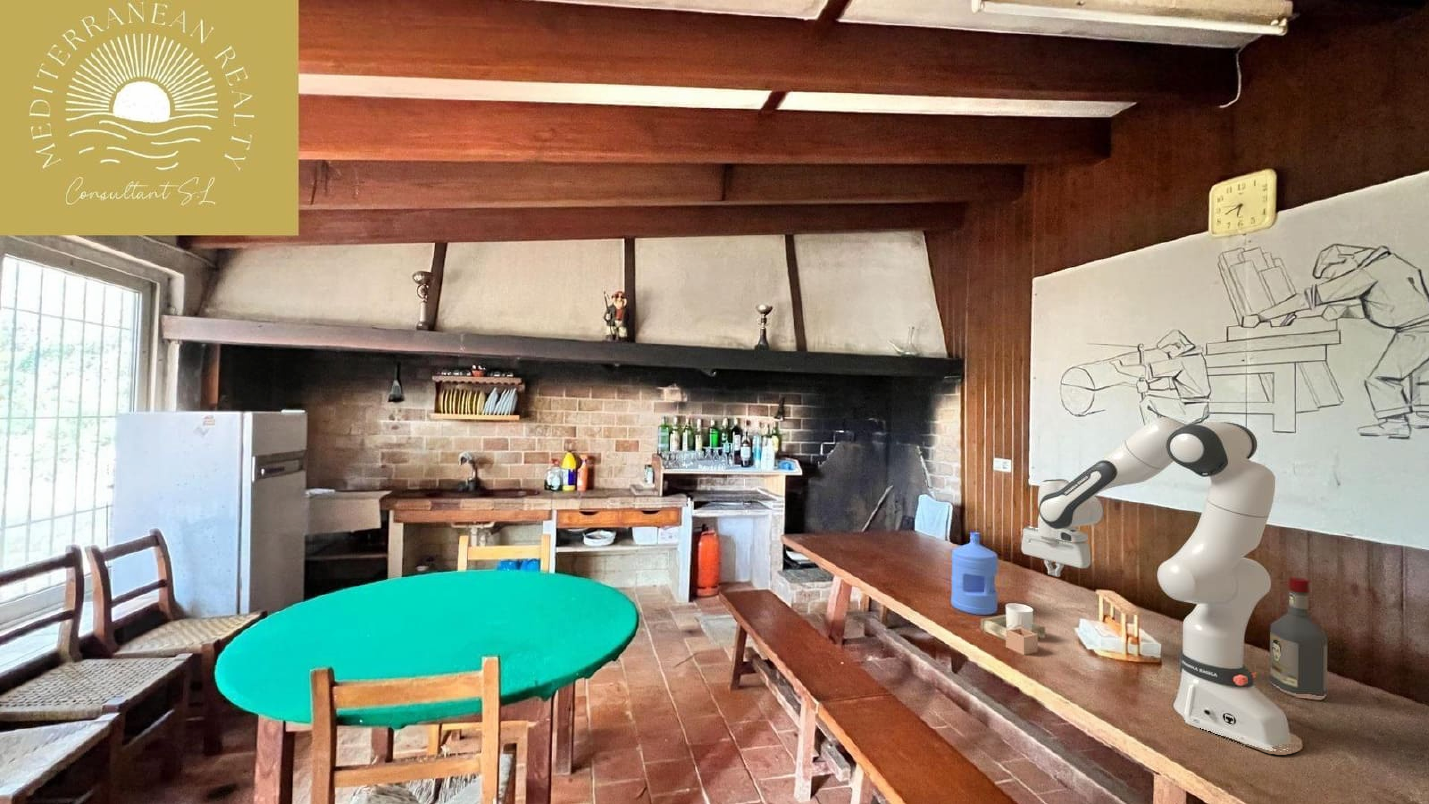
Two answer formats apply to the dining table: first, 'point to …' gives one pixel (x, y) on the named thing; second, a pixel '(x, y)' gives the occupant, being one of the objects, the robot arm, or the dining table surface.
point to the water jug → (974, 578)
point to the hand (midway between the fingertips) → (1054, 575)
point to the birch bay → (998, 626)
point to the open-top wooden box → (1022, 640)
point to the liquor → (1298, 646)
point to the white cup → (1019, 616)
